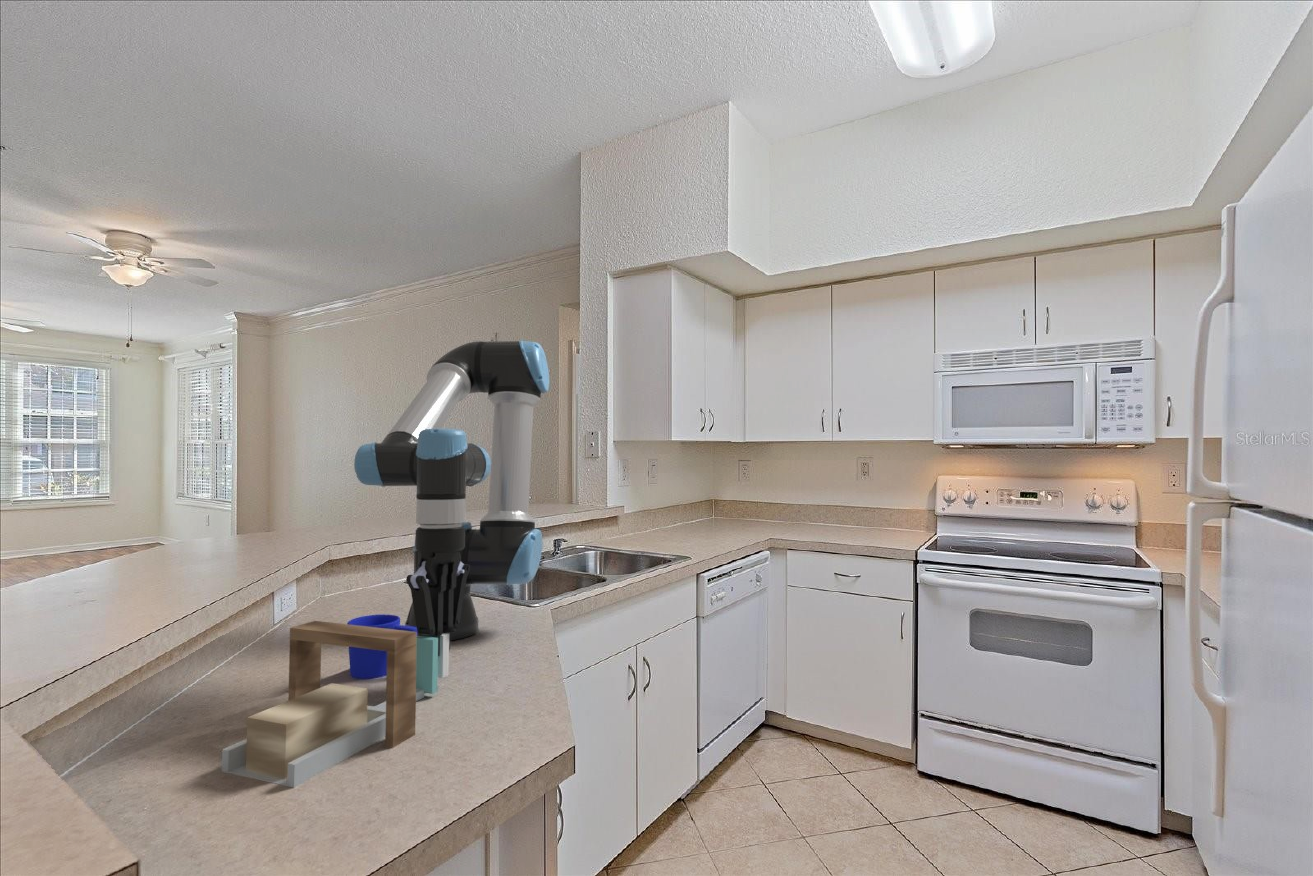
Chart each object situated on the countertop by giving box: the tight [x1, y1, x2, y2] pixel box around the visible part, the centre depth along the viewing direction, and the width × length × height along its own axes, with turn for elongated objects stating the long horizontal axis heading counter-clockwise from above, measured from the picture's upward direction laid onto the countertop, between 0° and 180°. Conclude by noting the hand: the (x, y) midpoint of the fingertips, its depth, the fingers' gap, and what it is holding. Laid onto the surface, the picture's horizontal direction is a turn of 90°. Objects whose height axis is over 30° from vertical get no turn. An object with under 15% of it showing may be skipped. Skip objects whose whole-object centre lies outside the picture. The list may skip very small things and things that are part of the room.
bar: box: [246, 682, 368, 779], centre depth 78 cm, size 12×6×6 cm, turn 161°
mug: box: [346, 613, 418, 680], centre depth 107 cm, size 8×12×10 cm
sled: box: [221, 636, 439, 788], centre depth 84 cm, size 28×11×10 cm, turn 161°
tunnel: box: [287, 620, 417, 749], centre depth 84 cm, size 4×17×14 cm, turn 71°
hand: (438, 675), depth 100 cm, fingers closed
